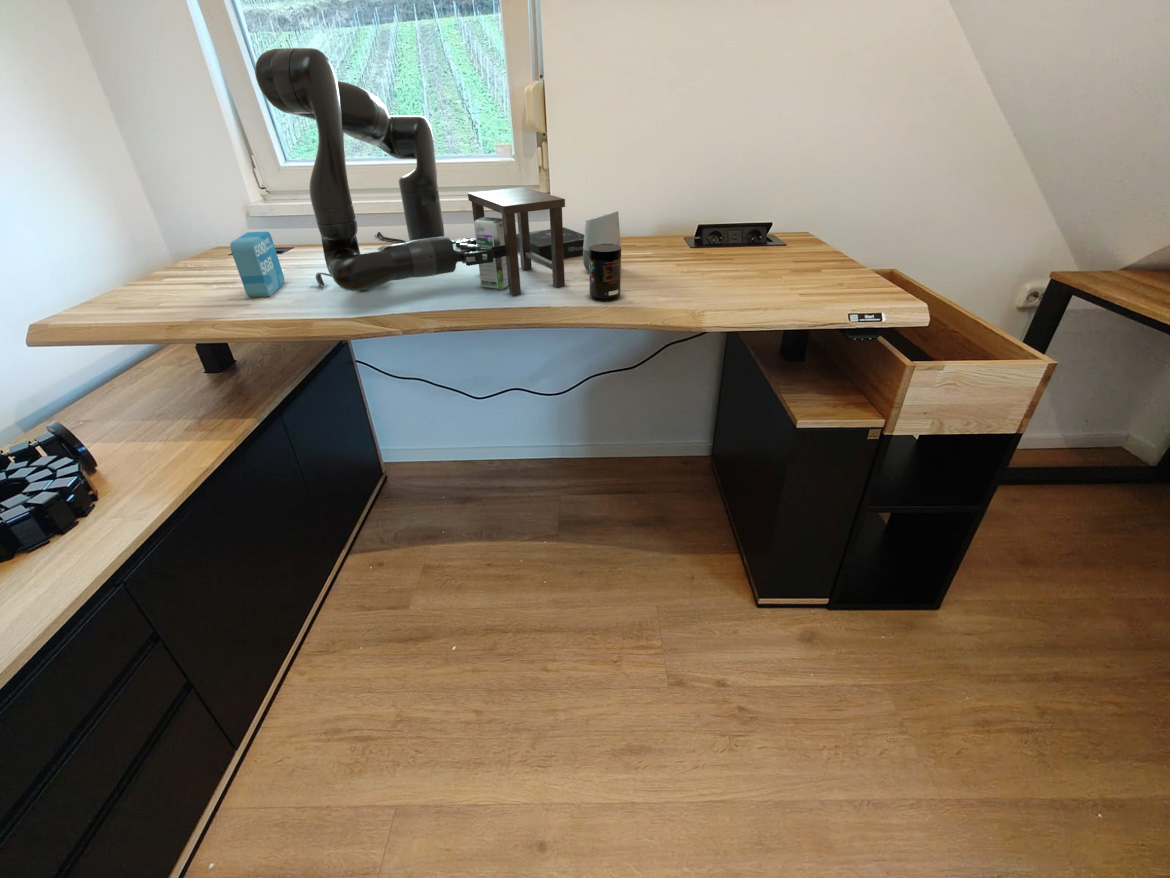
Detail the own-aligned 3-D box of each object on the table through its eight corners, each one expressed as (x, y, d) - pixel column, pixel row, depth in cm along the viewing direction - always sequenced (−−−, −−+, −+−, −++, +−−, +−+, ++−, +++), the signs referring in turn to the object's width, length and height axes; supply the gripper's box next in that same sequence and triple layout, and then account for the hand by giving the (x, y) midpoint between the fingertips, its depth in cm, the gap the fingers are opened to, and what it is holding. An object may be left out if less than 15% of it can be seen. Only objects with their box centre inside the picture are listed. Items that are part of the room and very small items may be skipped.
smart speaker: (594, 264, 142) (594, 205, 134) (627, 268, 138) (628, 208, 130) (576, 273, 135) (574, 212, 127) (609, 278, 131) (610, 216, 123)
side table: (477, 275, 135) (467, 192, 125) (529, 266, 141) (523, 186, 131) (511, 297, 121) (503, 206, 111) (567, 286, 126) (565, 198, 116)
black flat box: (563, 241, 163) (562, 226, 161) (593, 253, 151) (593, 238, 149) (512, 249, 156) (511, 234, 154) (540, 262, 144) (539, 246, 142)
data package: (269, 298, 123) (250, 242, 116) (247, 299, 122) (227, 243, 116) (286, 282, 133) (269, 229, 126) (266, 283, 132) (248, 230, 126)
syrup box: (480, 287, 127) (472, 220, 119) (493, 280, 131) (486, 215, 124) (502, 290, 125) (495, 222, 117) (514, 282, 130) (509, 217, 122)
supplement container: (606, 290, 124) (606, 241, 118) (627, 297, 119) (628, 247, 114) (583, 296, 120) (582, 247, 115) (603, 304, 116) (603, 253, 110)
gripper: (437, 245, 110) (511, 234, 117) (416, 232, 121) (485, 223, 127) (442, 283, 114) (514, 270, 121) (422, 267, 125) (489, 256, 131)
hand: (499, 246), depth 124 cm, fingers open, 8 cm apart
